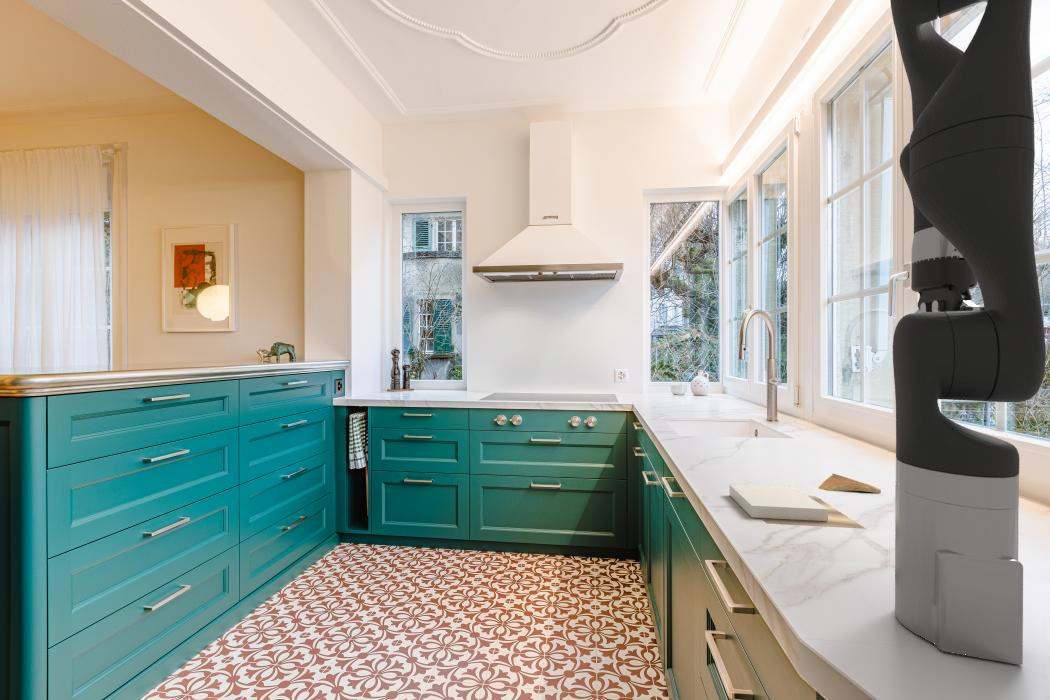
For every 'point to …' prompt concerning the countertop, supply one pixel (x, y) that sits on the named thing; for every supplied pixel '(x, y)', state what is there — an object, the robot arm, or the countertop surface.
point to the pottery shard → (846, 485)
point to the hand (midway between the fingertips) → (942, 370)
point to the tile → (777, 503)
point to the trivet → (833, 521)
